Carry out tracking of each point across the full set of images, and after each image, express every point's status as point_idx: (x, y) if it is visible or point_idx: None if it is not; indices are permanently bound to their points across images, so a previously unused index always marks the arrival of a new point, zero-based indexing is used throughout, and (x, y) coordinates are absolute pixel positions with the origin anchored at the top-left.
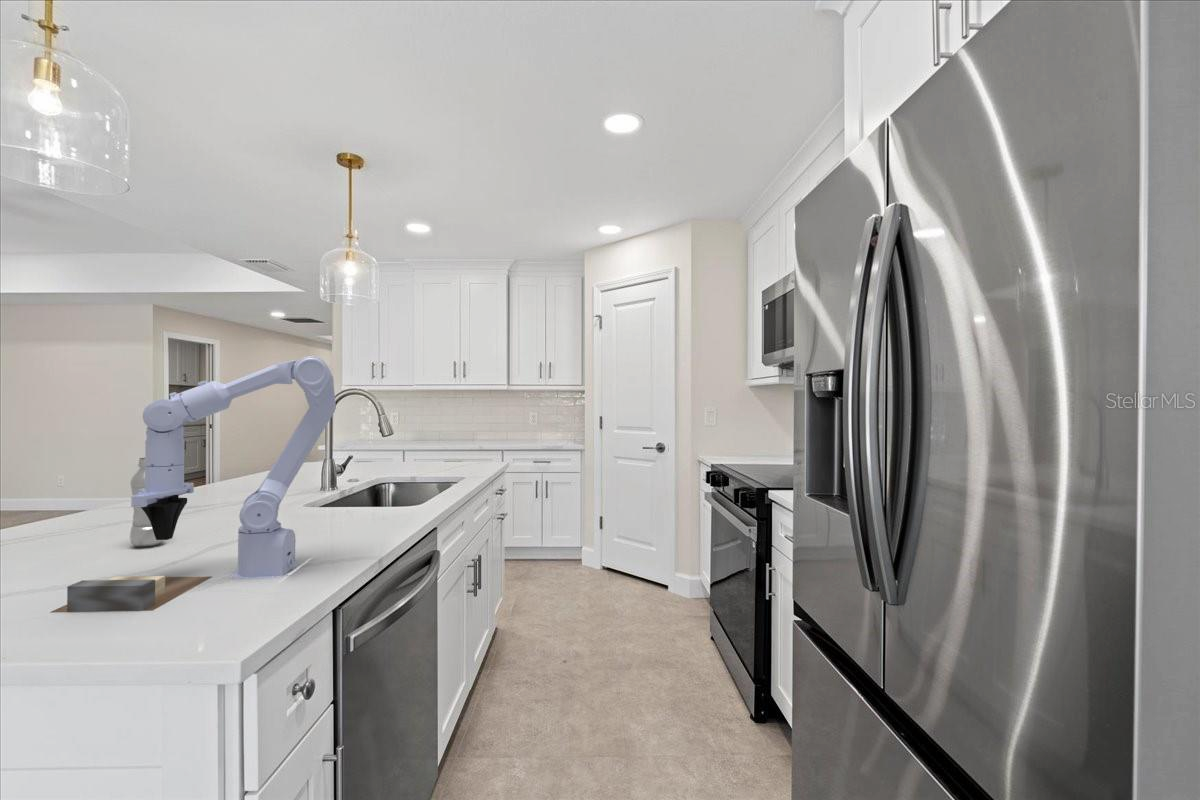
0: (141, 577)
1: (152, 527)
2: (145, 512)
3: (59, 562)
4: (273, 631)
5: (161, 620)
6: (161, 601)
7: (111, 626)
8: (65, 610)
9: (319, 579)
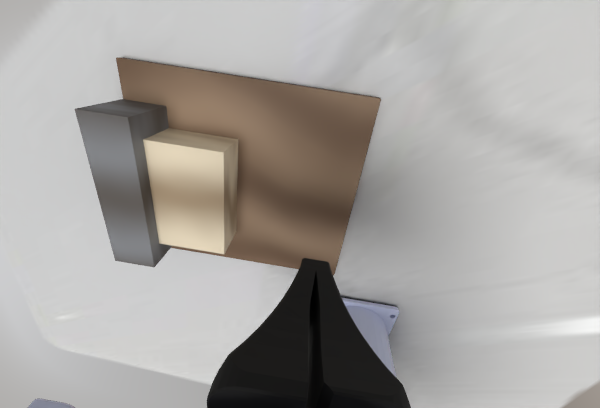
0: (214, 215)
1: (290, 286)
2: (249, 338)
3: None
4: (118, 360)
5: None
6: None
7: (98, 204)
8: (131, 89)
9: None
